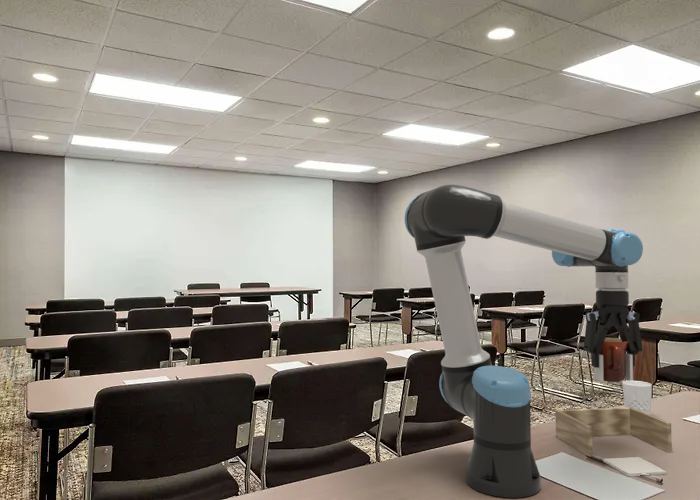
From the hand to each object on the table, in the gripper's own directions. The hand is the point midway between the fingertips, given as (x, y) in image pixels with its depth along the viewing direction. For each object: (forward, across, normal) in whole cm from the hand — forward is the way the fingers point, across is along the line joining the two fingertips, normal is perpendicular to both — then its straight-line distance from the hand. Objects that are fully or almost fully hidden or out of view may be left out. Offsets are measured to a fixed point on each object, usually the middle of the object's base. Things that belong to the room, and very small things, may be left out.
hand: (613, 379), depth 132 cm
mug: (+1, 0, 0) cm, 1 cm away
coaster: (+17, -4, -13) cm, 22 cm away
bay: (+17, +1, +2) cm, 17 cm away
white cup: (+17, +25, +24) cm, 39 cm away
